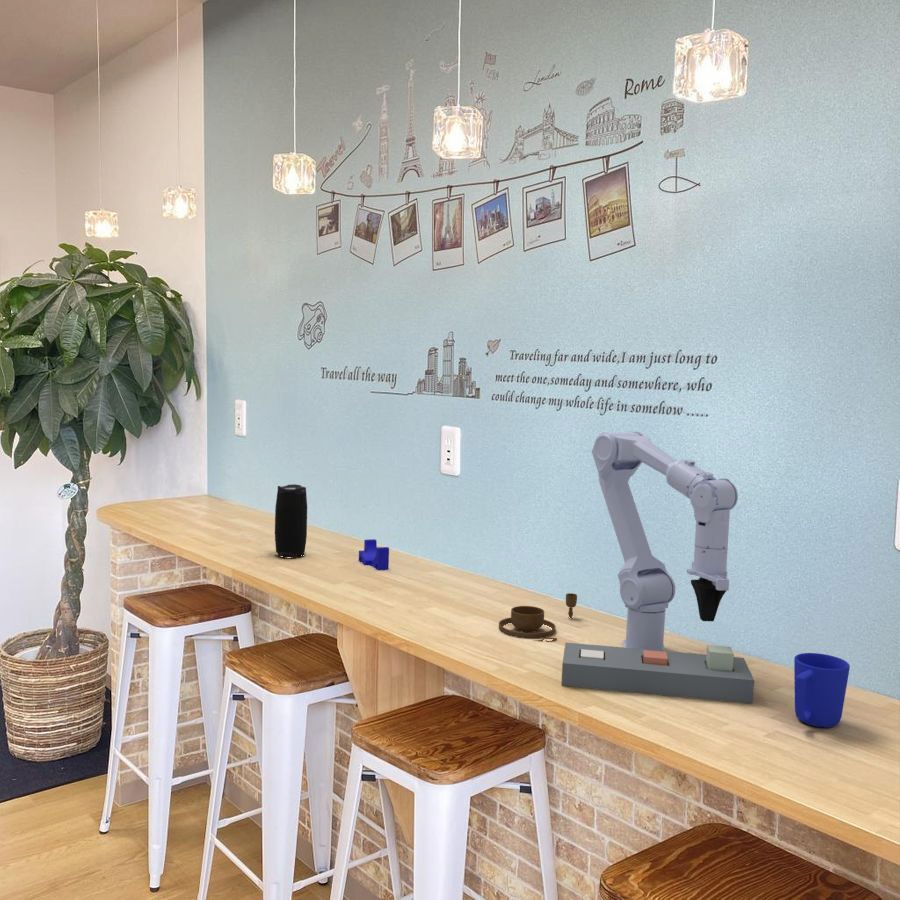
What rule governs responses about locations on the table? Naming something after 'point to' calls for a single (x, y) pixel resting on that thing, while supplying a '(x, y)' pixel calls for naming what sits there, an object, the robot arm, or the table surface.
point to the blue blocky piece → (374, 555)
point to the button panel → (656, 674)
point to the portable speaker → (291, 520)
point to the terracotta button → (654, 657)
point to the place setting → (533, 620)
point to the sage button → (719, 658)
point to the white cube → (592, 654)
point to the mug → (820, 688)
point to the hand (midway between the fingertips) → (707, 620)
